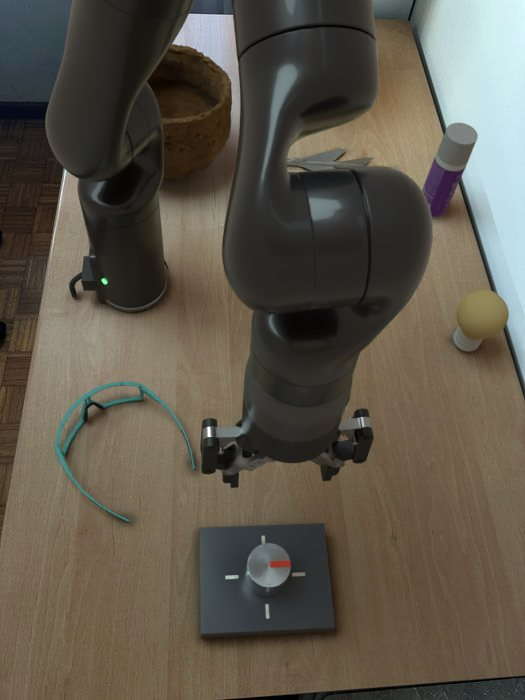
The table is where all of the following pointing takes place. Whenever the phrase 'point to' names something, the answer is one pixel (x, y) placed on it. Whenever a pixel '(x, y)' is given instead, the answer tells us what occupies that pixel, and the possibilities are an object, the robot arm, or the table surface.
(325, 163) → the toy airplane
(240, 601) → the panel
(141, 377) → the table surface
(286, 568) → the dial
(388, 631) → the table surface
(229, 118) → the bowl
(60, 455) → the teal curved thin frame
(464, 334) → the light bulb
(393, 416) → the table surface
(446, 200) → the container
